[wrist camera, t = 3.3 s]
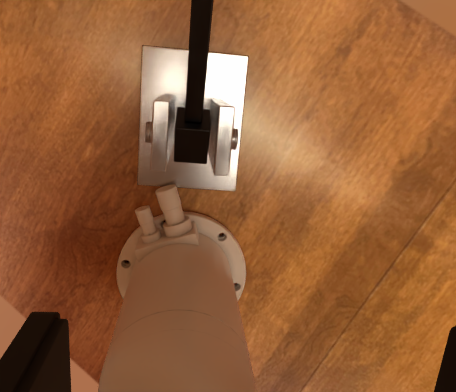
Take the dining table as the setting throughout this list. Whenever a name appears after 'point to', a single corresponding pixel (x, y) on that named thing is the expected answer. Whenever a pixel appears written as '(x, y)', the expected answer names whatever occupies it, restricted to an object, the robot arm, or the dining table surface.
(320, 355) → the dining table surface
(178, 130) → the lever
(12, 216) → the dining table surface
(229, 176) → the bracket
